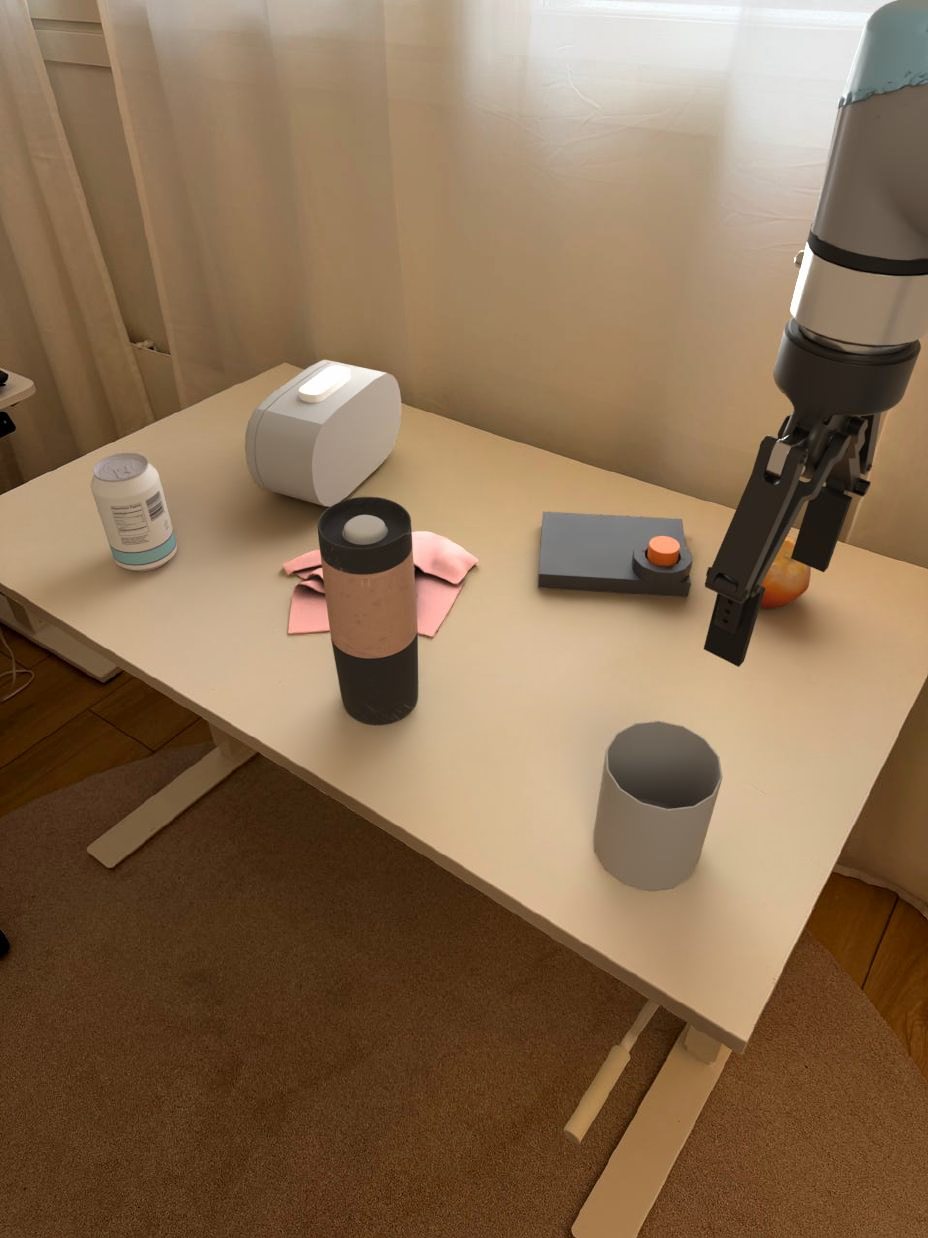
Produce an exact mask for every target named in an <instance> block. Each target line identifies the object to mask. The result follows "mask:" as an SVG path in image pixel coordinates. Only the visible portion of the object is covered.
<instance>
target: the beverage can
mask: <svg viewBox="0 0 928 1238" xmlns="http://www.w3.org/2000/svg"><path fill="white" fill-rule="evenodd" d="M92 473H93V474H92V477H91V482H90V490H91V493H92V496H93V499H94V502H95V505H96V509H97V512H98V514H99V515H98V516H99V518H100V521H101V524H102V527H103V530H104V533H105V536H106V540H107V542H108V546H109V548H110V552H111V554H112V558H113V561H114V562H115V563H116V565H118V566H119V567H120V568H123V569H125V570H130V571H136V572H150V571H154V570H157V569H159V568H161V567H163V566H164V565H165V564H167V562H168V561H170V560H171V559H172V558H173V557H174V556H175V554H176V553H177V550H178V543H177V539H176V535H175V531H174V527H173V524H172V520H171V515H170V512H169V509H168V505H167V501H166V497H165V493H164V490H163V486H162V482H161V479H160V474H159V472H158V470H157V469H156V468H155V467H154V466H153V465H152V464H151V463H150V462H149V460H148V458H147V457H146V456H145V455H143V454H141V453H137V452H119V453H114V454H111V455H107V456H105V457H103V458H102V459H100V460H98V461H97V462H96V463H95V464H94V466H93V467H92Z"/></svg>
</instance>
